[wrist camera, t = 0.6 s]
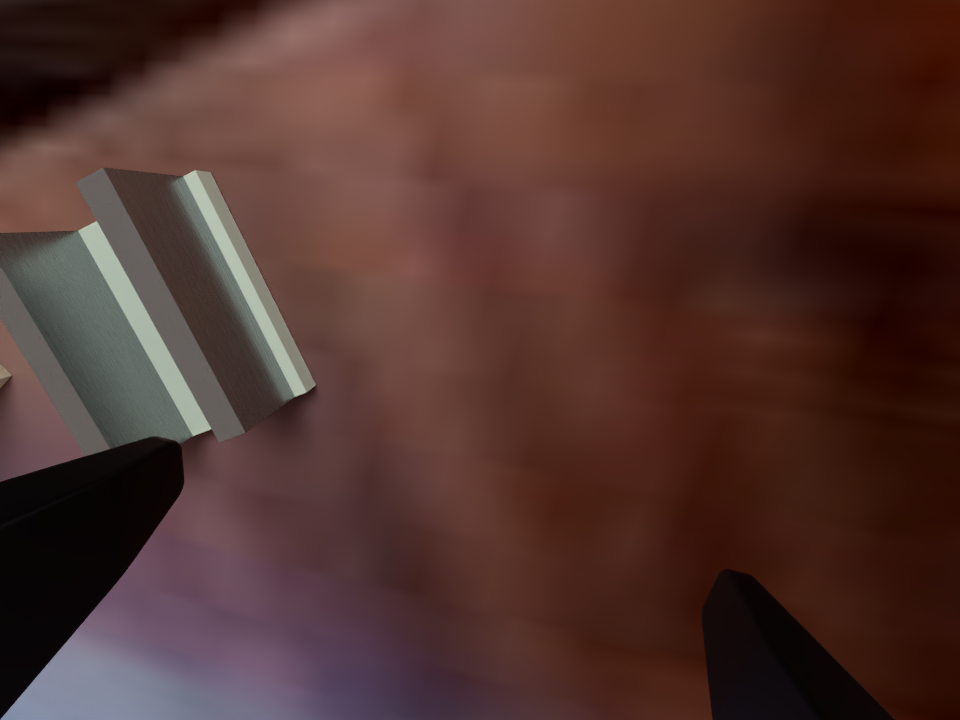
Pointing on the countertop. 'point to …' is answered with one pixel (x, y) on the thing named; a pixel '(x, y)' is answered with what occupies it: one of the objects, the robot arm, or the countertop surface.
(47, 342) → the grey channel bracket
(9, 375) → the ash slab
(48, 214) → the countertop surface
